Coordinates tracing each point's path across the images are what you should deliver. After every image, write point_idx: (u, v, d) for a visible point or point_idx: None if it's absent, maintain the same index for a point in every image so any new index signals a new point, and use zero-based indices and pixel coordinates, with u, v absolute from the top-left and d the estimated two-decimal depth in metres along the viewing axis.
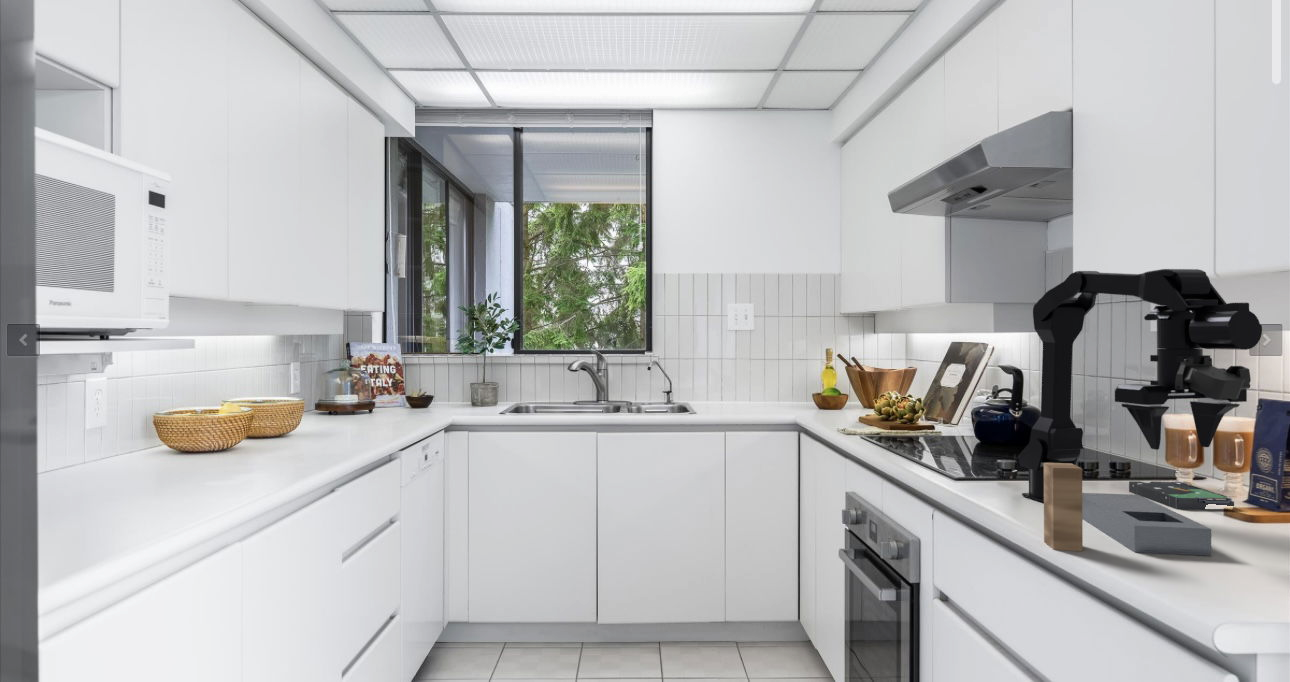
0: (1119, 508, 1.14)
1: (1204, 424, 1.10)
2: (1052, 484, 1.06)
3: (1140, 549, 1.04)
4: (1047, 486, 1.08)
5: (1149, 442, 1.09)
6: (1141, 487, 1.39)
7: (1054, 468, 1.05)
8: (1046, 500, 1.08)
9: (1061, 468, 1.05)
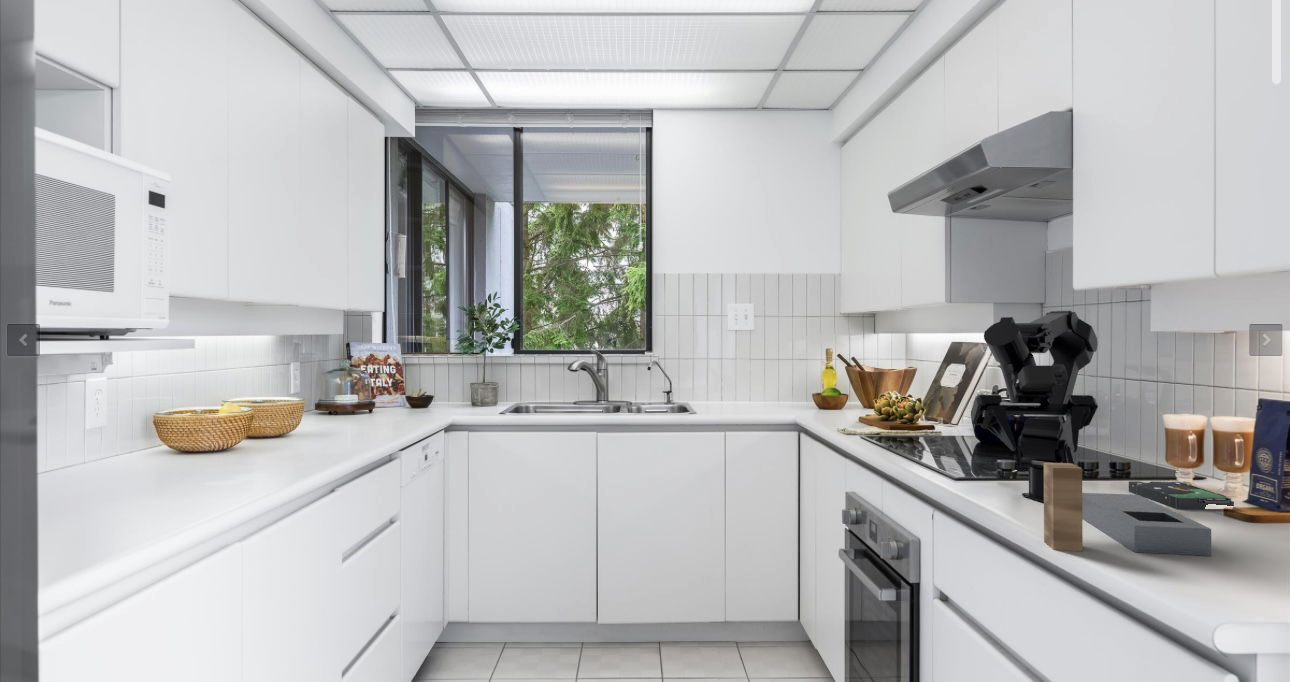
0: (1119, 508, 1.14)
1: (1069, 433, 1.16)
2: (1052, 484, 1.06)
3: (1140, 549, 1.04)
4: (1047, 486, 1.08)
5: (1009, 446, 1.17)
6: (1141, 487, 1.39)
7: (1054, 468, 1.05)
8: (1046, 500, 1.08)
9: (1061, 468, 1.05)
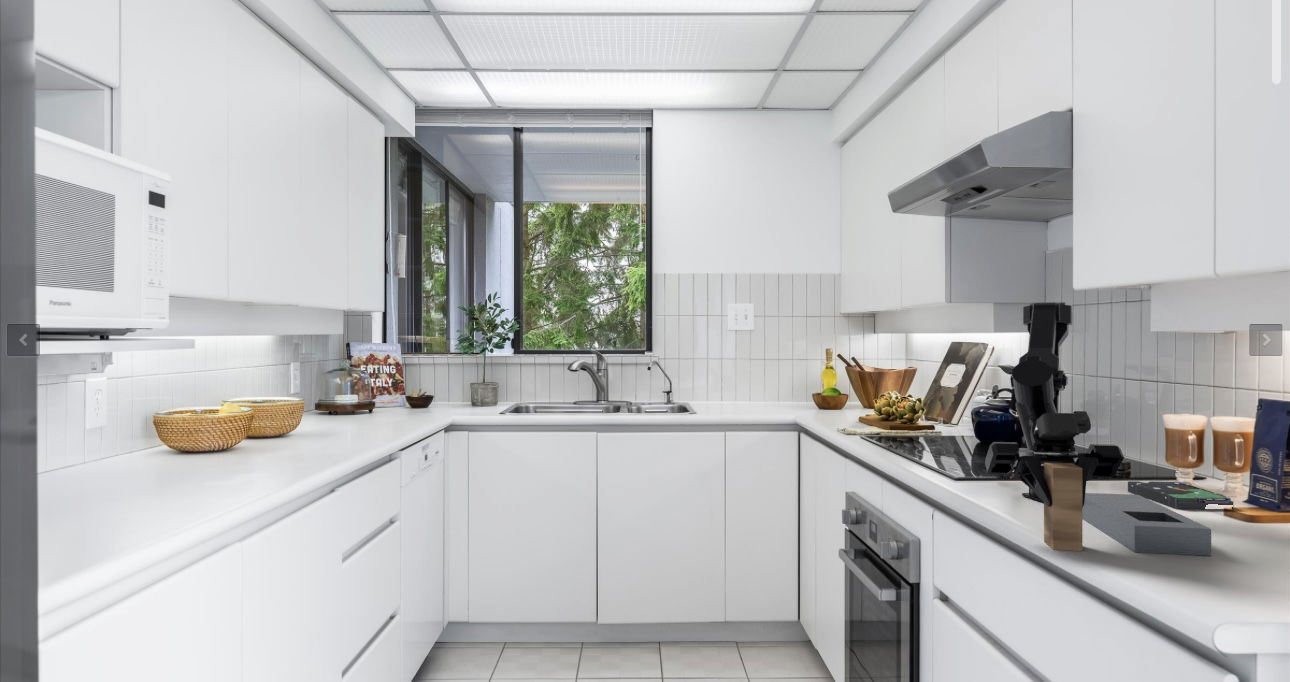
0: (1119, 508, 1.14)
1: None
2: (1052, 484, 1.06)
3: (1140, 549, 1.04)
4: None
5: (1044, 501, 1.07)
6: (1140, 487, 1.39)
7: (1054, 468, 1.05)
8: None
9: (1061, 468, 1.05)
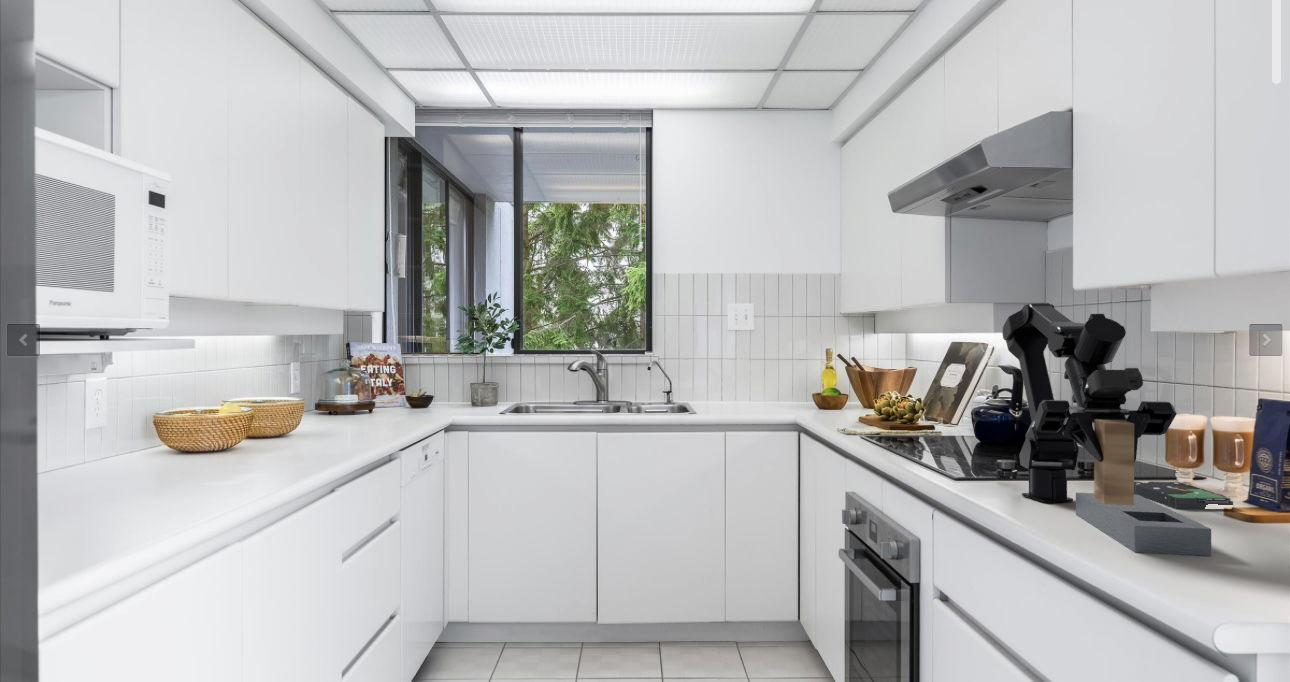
0: (1119, 508, 1.14)
1: None
2: (1103, 439, 1.07)
3: (1140, 549, 1.04)
4: None
5: (1095, 456, 1.08)
6: (1140, 487, 1.39)
7: (1105, 423, 1.06)
8: None
9: (1113, 423, 1.06)
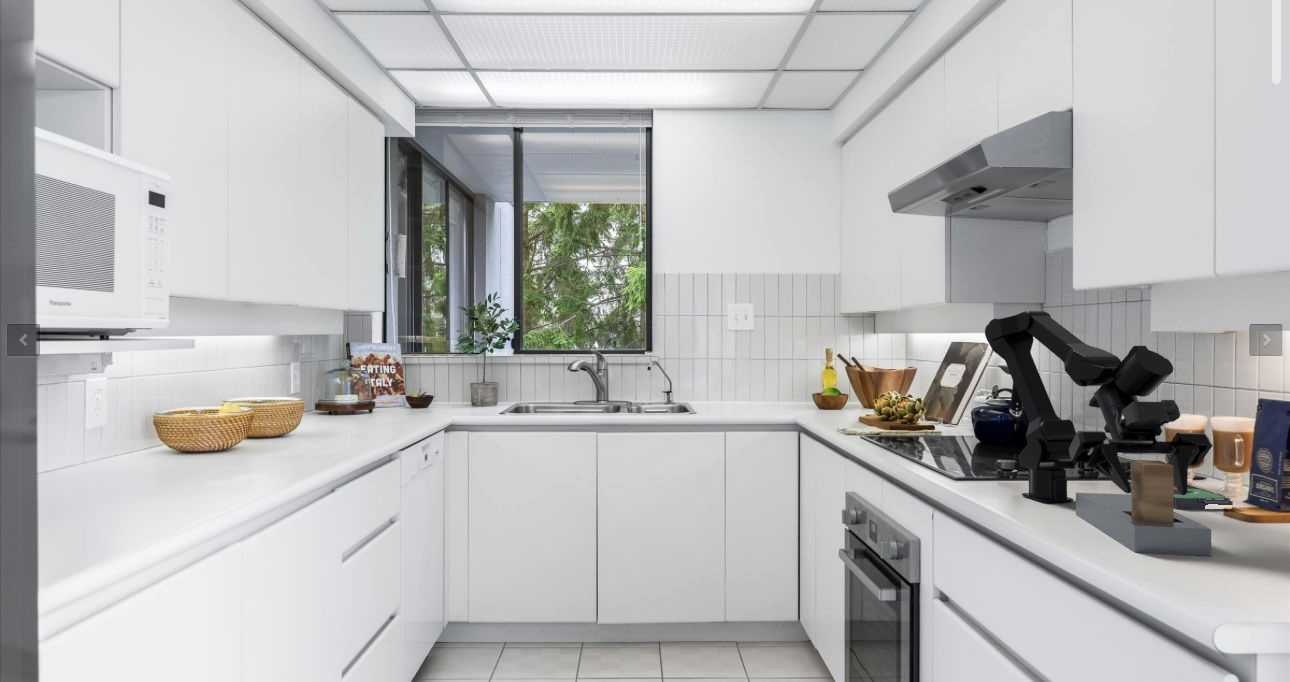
0: (1119, 508, 1.14)
1: (1176, 474, 1.09)
2: (1143, 481, 1.07)
3: (1140, 549, 1.04)
4: (1136, 483, 1.09)
5: (1121, 488, 1.09)
6: None
7: (1145, 465, 1.07)
8: (1135, 497, 1.10)
9: (1152, 465, 1.07)
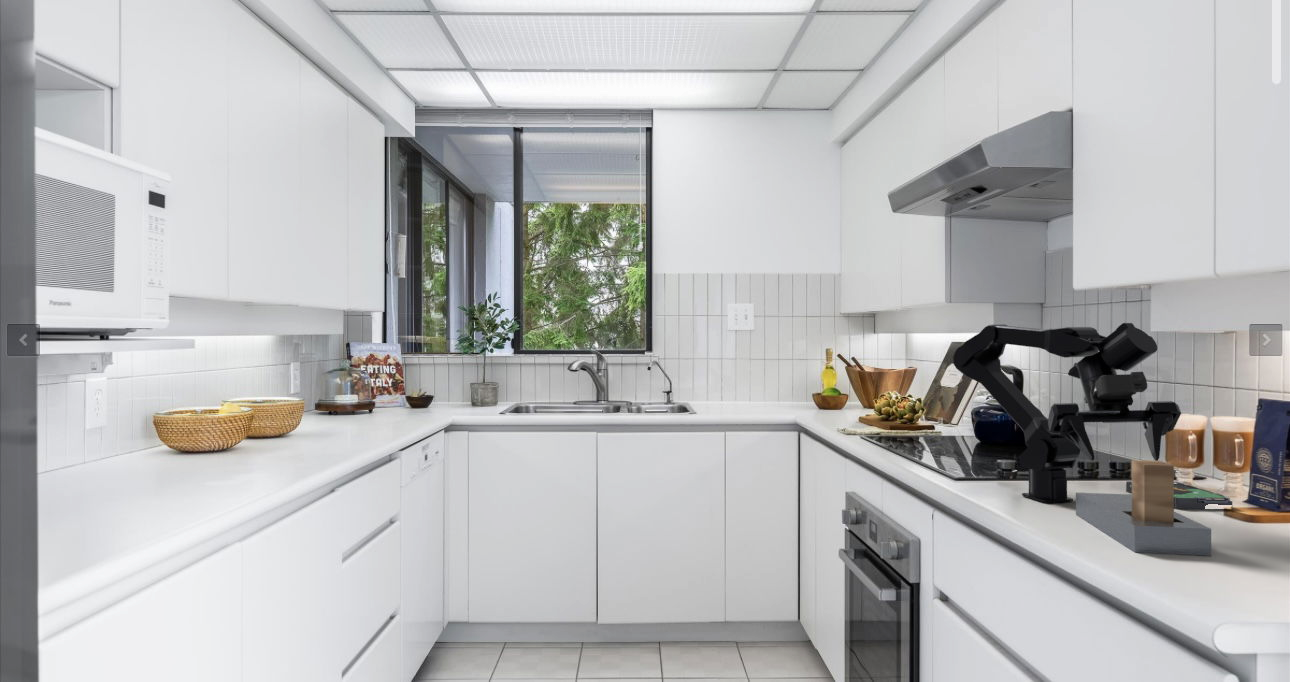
0: (1119, 508, 1.14)
1: (1151, 441, 1.16)
2: (1143, 481, 1.07)
3: (1140, 549, 1.04)
4: (1136, 483, 1.09)
5: (1087, 455, 1.18)
6: None
7: (1145, 465, 1.07)
8: (1135, 497, 1.10)
9: (1152, 465, 1.07)
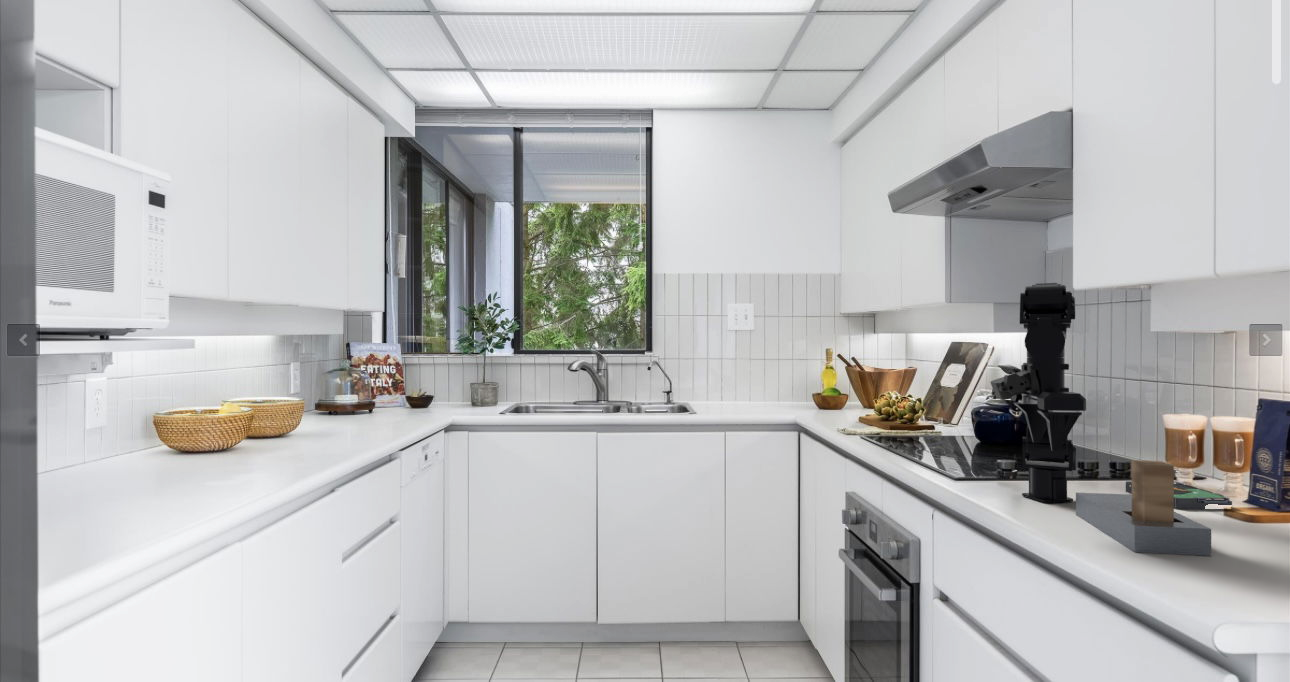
0: (1119, 508, 1.14)
1: None
2: (1143, 481, 1.07)
3: (1140, 549, 1.04)
4: (1136, 483, 1.09)
5: None
6: None
7: (1145, 465, 1.07)
8: (1135, 497, 1.10)
9: (1152, 465, 1.07)
